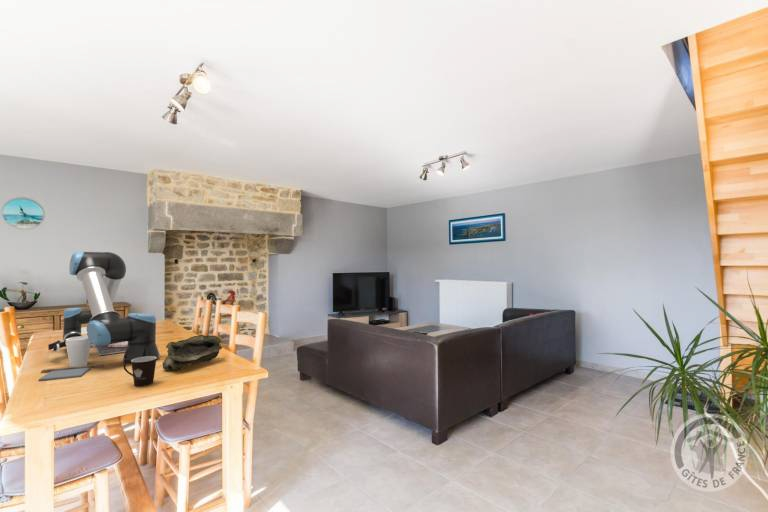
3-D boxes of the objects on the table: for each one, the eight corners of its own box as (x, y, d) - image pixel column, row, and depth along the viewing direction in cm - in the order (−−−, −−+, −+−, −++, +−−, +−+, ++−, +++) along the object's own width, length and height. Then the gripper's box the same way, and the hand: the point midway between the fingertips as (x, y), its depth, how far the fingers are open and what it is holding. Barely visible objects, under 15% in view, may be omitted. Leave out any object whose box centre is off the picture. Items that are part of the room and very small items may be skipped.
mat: (90, 369, 167) (90, 367, 167) (81, 376, 156) (81, 375, 156) (51, 372, 161) (51, 371, 161) (38, 381, 150) (38, 379, 150)
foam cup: (96, 364, 175) (96, 336, 175) (74, 369, 166) (74, 340, 166) (82, 362, 178) (82, 335, 178) (60, 367, 169) (60, 339, 169)
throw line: (103, 366, 171) (103, 364, 171) (102, 367, 169) (102, 365, 169) (42, 372, 162) (42, 369, 162) (41, 373, 161) (41, 370, 161)
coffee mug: (161, 382, 149) (161, 357, 150) (139, 388, 142) (139, 363, 142) (143, 378, 154) (143, 354, 154) (121, 384, 147) (121, 359, 147)
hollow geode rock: (219, 367, 186) (207, 343, 192) (230, 352, 181) (219, 328, 187) (161, 381, 162) (150, 353, 168) (173, 364, 158) (161, 336, 164)
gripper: (103, 343, 202) (108, 350, 187) (41, 350, 185) (41, 359, 170) (103, 329, 202) (108, 335, 187) (41, 335, 185) (42, 343, 170)
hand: (76, 346), depth 178 cm, fingers open, 13 cm apart
